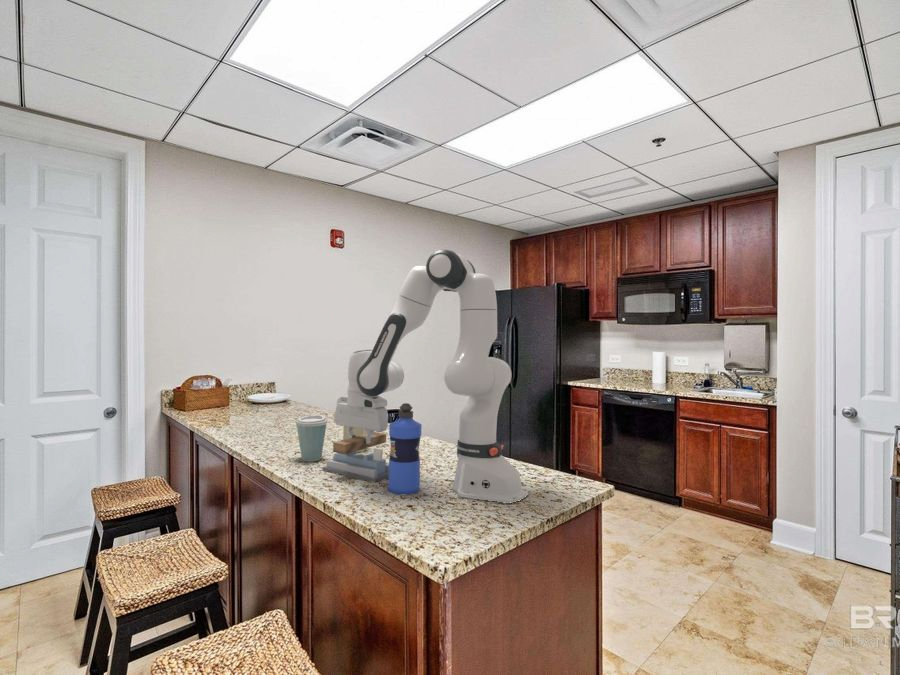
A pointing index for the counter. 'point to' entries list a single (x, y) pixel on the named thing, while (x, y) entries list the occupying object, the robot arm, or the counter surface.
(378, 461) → the pale blue tabbed body
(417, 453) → the water bottle
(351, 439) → the brown long rectangular bar
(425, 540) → the counter surface
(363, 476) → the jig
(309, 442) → the disposable coffee cup
